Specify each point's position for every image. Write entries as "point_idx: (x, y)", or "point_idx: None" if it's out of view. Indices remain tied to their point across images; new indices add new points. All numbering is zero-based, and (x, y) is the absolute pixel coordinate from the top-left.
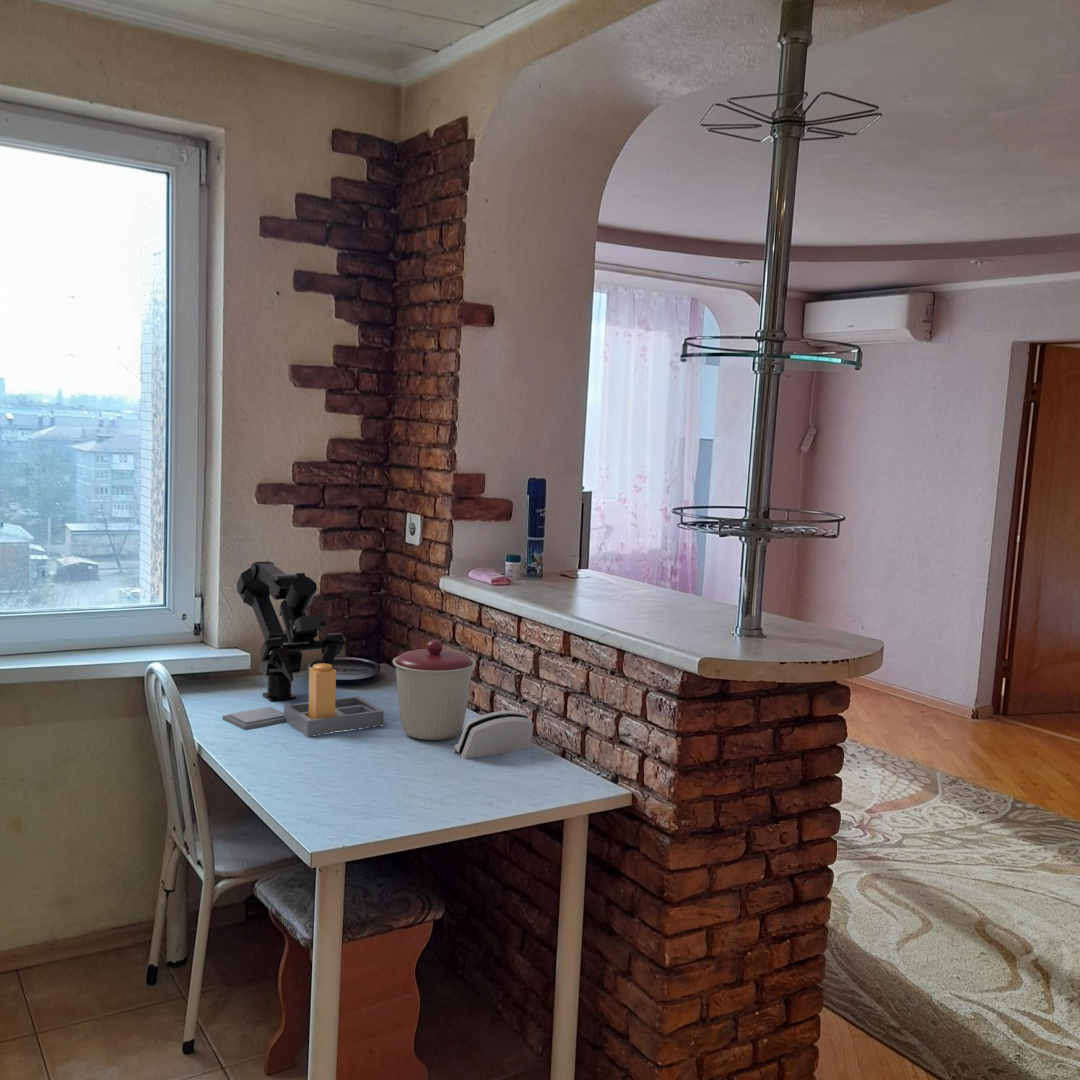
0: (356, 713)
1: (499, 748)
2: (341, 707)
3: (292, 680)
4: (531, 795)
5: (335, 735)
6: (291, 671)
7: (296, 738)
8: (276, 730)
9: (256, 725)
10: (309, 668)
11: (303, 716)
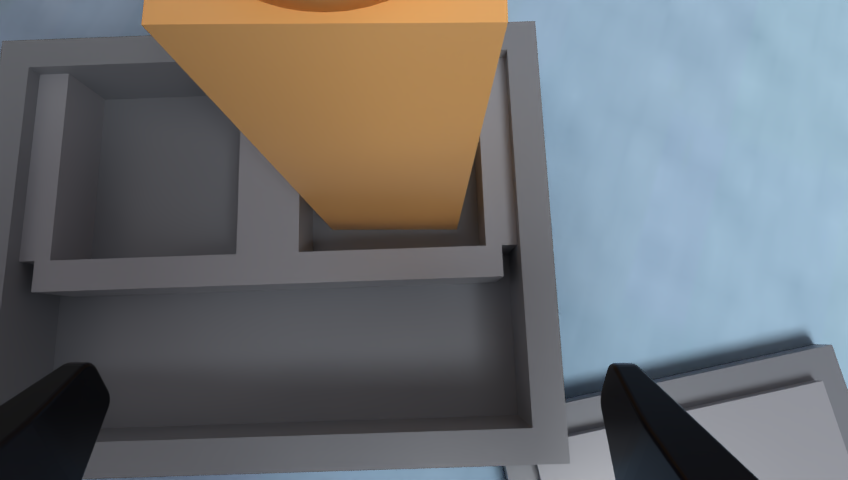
0: None
1: None
2: (189, 281)
3: (607, 380)
4: None
5: None
6: (662, 434)
7: (576, 76)
8: (639, 254)
9: (745, 360)
10: (505, 11)
11: (526, 126)
